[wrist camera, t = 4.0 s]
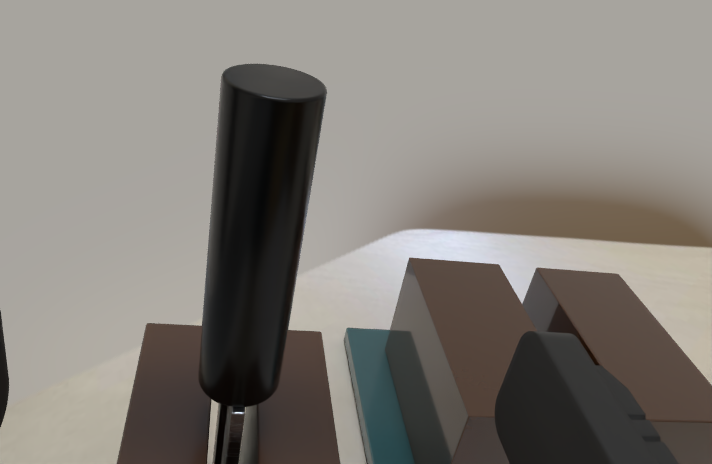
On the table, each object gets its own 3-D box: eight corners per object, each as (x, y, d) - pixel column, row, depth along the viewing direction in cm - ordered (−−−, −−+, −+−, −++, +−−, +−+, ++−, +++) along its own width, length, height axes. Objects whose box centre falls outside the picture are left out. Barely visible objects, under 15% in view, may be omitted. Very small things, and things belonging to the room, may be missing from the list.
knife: (244, 626, 26) (333, 108, 15) (177, 629, 25) (219, 94, 14) (245, 555, 28) (321, 68, 17) (184, 556, 28) (223, 55, 17)
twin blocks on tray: (730, 564, 32) (814, 458, 29) (388, 575, 29) (430, 454, 25) (589, 350, 46) (633, 258, 42) (343, 339, 42) (366, 235, 38)
